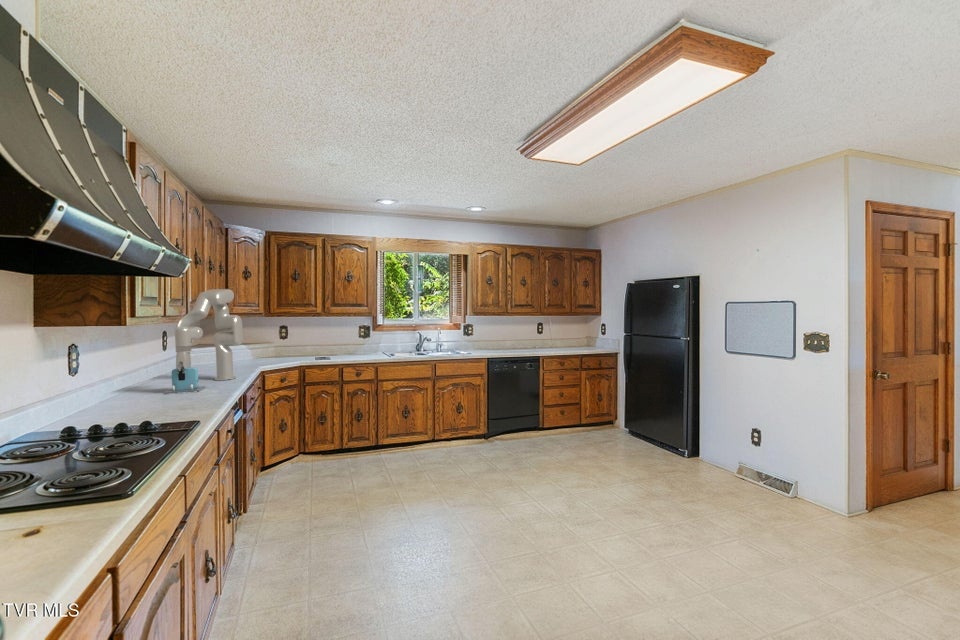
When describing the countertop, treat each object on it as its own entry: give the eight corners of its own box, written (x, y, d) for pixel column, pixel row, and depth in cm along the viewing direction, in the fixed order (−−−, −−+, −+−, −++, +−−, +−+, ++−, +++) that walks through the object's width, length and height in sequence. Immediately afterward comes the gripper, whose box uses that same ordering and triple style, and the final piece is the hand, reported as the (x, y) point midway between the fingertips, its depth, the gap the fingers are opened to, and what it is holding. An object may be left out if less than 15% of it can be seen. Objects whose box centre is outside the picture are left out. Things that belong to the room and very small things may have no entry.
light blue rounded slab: (198, 387, 265) (197, 367, 265) (196, 388, 261) (195, 368, 260) (174, 389, 261) (173, 368, 261) (172, 390, 257) (171, 369, 257)
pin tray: (173, 389, 265) (172, 383, 265) (205, 387, 270) (205, 381, 270) (163, 394, 252) (163, 387, 252) (198, 391, 256) (197, 384, 256)
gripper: (181, 348, 267) (182, 377, 268) (170, 350, 251) (171, 381, 251) (195, 347, 269) (197, 376, 270) (185, 350, 253) (187, 380, 253)
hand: (184, 379), depth 261 cm, fingers open, 9 cm apart
